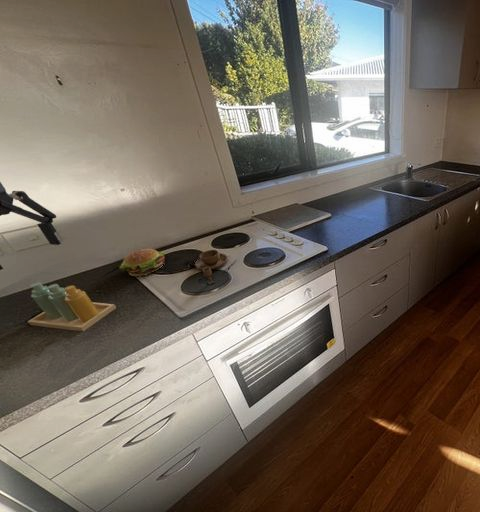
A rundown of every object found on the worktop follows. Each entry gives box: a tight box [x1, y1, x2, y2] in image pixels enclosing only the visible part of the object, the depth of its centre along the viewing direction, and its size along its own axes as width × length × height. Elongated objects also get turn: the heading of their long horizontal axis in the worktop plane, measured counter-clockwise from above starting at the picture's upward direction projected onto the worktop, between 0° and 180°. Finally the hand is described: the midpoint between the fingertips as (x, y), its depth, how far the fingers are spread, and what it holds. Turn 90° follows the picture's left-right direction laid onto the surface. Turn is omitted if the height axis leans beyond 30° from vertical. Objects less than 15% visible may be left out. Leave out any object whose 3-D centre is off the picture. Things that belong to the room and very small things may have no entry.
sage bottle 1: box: [30, 281, 62, 319], centre depth 90 cm, size 5×5×12 cm
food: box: [118, 248, 166, 277], centre depth 114 cm, size 14×14×8 cm
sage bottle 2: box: [47, 283, 78, 321], centre depth 89 cm, size 5×5×12 cm
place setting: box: [187, 249, 237, 281], centre depth 114 cm, size 18×20×6 cm
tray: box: [27, 301, 117, 332], centre depth 92 cm, size 19×11×2 cm, turn 82°
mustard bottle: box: [64, 285, 99, 323], centre depth 88 cm, size 5×5×12 cm
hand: (28, 255), depth 80 cm, fingers open, 13 cm apart
